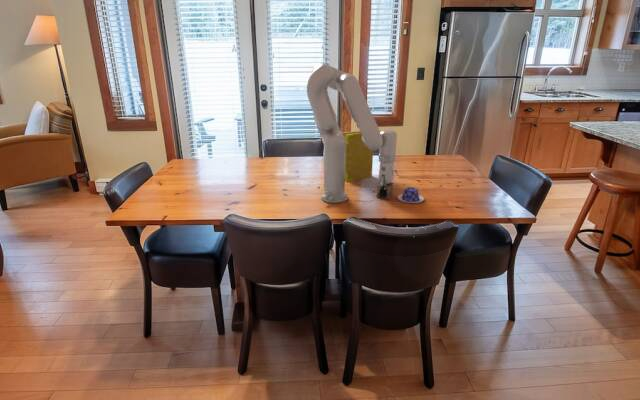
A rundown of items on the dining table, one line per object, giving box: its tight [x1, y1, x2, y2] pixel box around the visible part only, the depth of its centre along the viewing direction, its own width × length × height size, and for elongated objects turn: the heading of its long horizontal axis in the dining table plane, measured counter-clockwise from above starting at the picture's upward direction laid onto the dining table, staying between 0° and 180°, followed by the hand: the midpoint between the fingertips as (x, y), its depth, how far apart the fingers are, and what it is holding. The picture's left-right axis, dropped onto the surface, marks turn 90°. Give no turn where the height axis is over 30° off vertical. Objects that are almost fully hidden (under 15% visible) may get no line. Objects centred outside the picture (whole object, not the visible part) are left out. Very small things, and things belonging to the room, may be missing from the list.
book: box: [341, 130, 374, 182], centre depth 198 cm, size 17×7×25 cm, turn 112°
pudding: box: [397, 186, 425, 204], centre depth 172 cm, size 12×12×5 cm
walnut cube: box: [376, 182, 394, 200], centre depth 176 cm, size 6×6×6 cm
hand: (384, 194), depth 176 cm, fingers closed on walnut cube, 6 cm apart
